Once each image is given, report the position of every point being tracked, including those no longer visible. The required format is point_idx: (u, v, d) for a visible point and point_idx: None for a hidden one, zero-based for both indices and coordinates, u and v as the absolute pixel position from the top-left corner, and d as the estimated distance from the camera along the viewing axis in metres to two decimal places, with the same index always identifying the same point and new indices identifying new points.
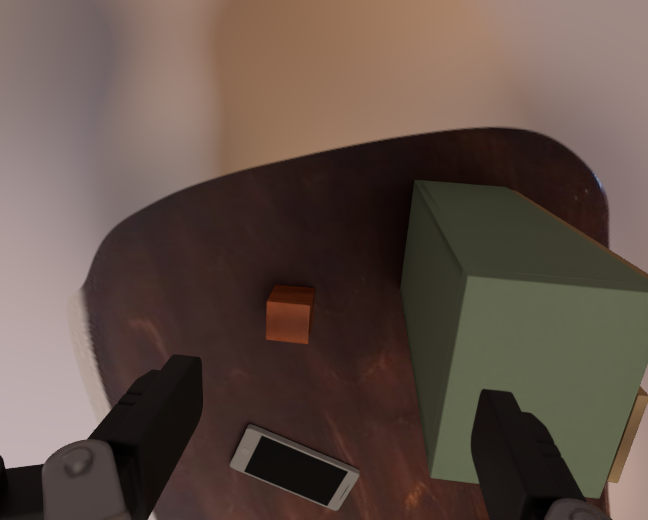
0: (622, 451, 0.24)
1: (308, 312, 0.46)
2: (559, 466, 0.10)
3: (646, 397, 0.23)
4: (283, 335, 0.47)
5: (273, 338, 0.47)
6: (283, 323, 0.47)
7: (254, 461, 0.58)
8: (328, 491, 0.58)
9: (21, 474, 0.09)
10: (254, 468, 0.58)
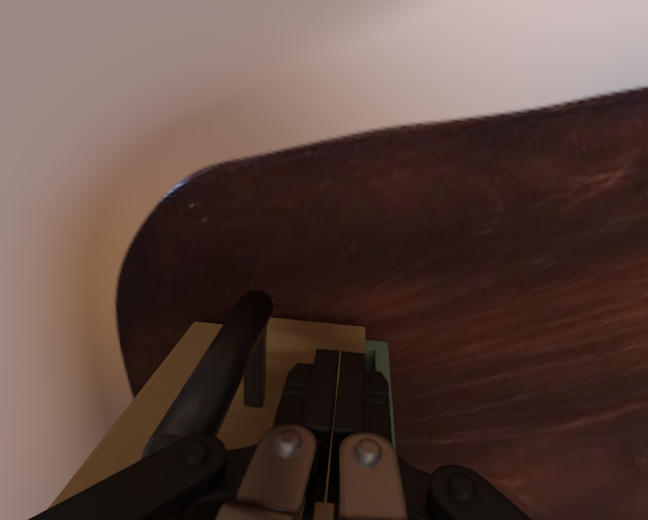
0: None
1: None
2: (382, 412, 0.11)
3: None
4: None
5: None
6: None
7: None
8: None
9: (231, 456, 0.10)
10: None
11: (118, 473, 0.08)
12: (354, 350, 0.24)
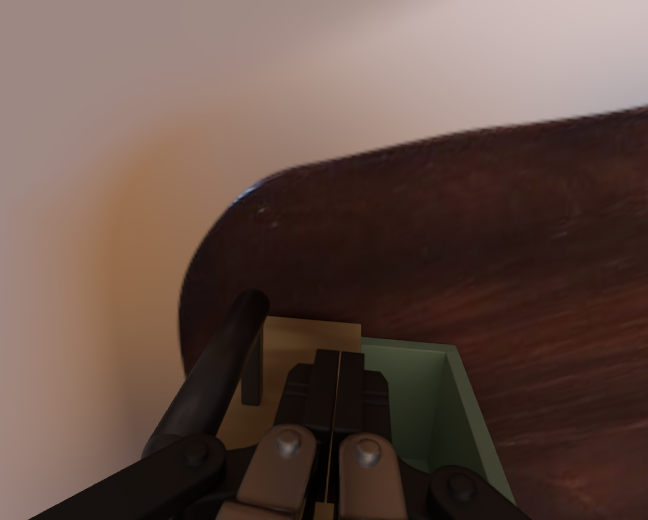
0: None
1: None
2: (382, 412, 0.11)
3: None
4: None
5: None
6: None
7: None
8: None
9: (231, 456, 0.10)
10: None
11: (118, 473, 0.08)
12: (350, 347, 0.24)
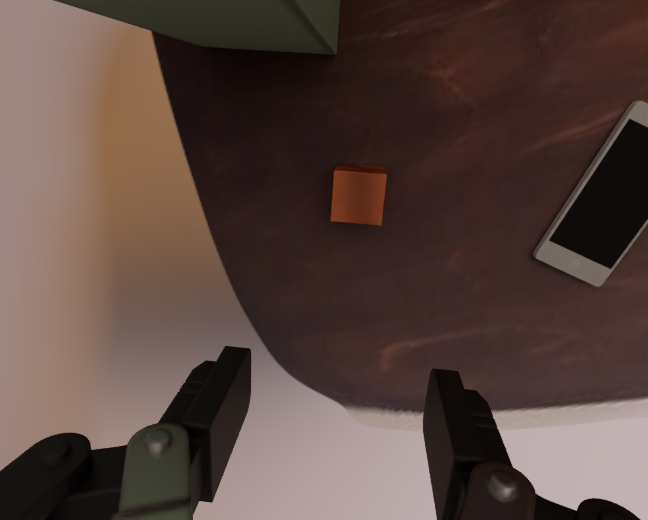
0: None
1: (343, 172, 0.38)
2: (493, 436, 0.11)
3: None
4: (375, 204, 0.39)
5: (379, 216, 0.39)
6: (358, 202, 0.39)
7: (593, 253, 0.42)
8: None
9: (103, 455, 0.10)
10: (606, 254, 0.42)
11: None
12: None
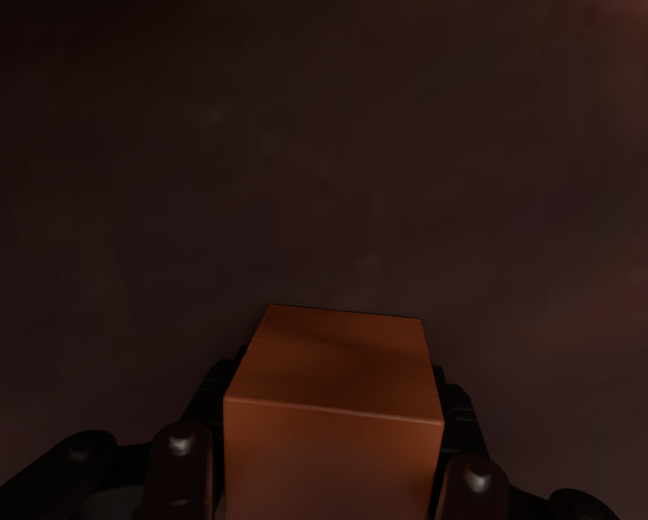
0: None
1: (260, 406, 0.09)
2: (472, 429, 0.11)
3: None
4: (395, 519, 0.10)
5: None
6: (325, 509, 0.10)
7: None
8: None
9: (128, 452, 0.10)
10: None
11: None
12: None
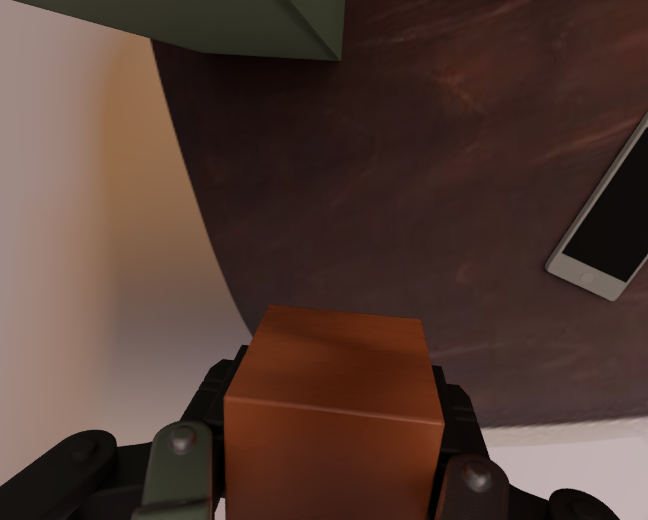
0: None
1: (261, 406, 0.09)
2: (472, 429, 0.11)
3: None
4: (395, 519, 0.10)
5: None
6: (325, 509, 0.10)
7: (608, 267, 0.40)
8: None
9: (128, 452, 0.10)
10: (622, 267, 0.40)
11: None
12: None
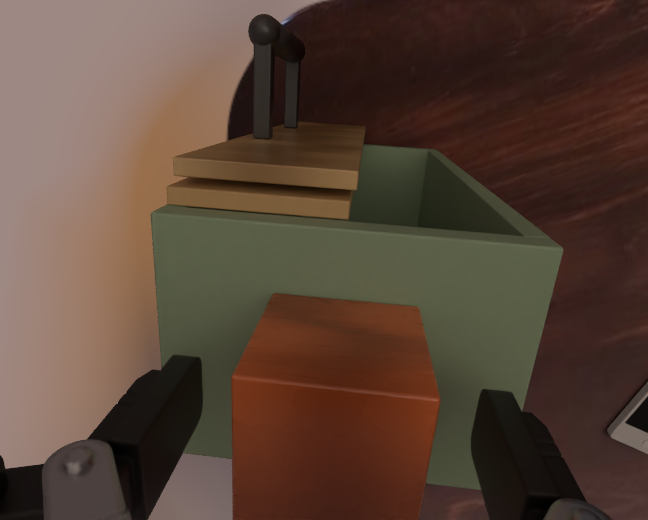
0: (286, 177, 0.14)
1: (267, 384, 0.10)
2: (559, 466, 0.10)
3: (174, 162, 0.14)
4: (393, 492, 0.10)
5: None
6: (328, 483, 0.10)
7: None
8: None
9: (21, 474, 0.09)
10: None
11: None
12: (358, 127, 0.33)
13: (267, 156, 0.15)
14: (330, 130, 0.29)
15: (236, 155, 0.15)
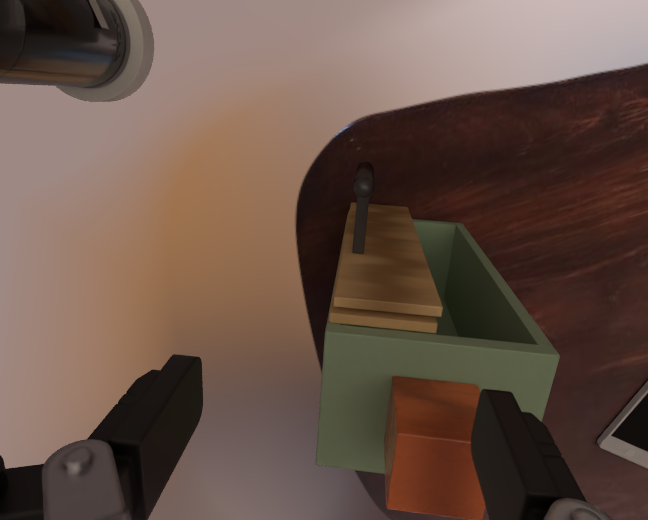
0: (400, 309, 0.24)
1: (415, 437, 0.20)
2: (559, 466, 0.10)
3: (335, 299, 0.24)
4: (474, 490, 0.21)
5: (479, 508, 0.21)
6: (440, 485, 0.21)
7: (646, 446, 0.53)
8: None
9: (21, 474, 0.09)
10: None
11: None
12: (404, 212, 0.43)
13: (382, 288, 0.26)
14: (389, 224, 0.39)
15: (364, 289, 0.25)
